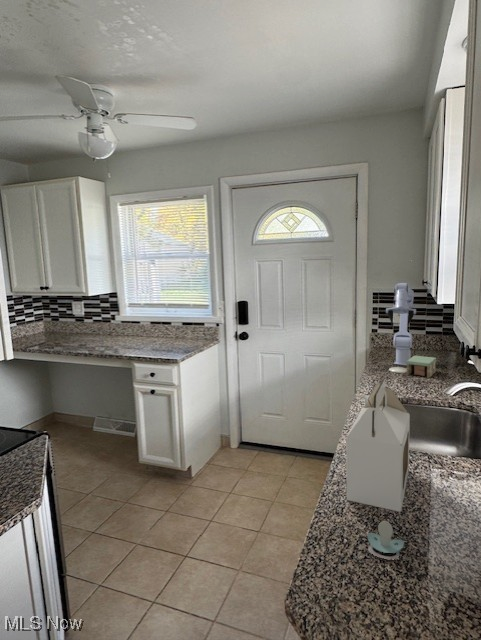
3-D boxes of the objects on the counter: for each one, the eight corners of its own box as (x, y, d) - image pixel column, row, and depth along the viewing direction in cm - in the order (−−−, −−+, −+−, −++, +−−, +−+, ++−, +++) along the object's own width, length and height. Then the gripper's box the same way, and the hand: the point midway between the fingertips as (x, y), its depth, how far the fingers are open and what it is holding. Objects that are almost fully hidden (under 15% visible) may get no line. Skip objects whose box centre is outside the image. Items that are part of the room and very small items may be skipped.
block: (416, 372, 218) (417, 363, 217) (426, 373, 215) (427, 364, 214) (414, 374, 214) (414, 365, 214) (424, 375, 211) (424, 366, 210)
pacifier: (401, 567, 83) (404, 547, 88) (401, 539, 82) (404, 521, 87) (364, 556, 86) (369, 538, 91) (364, 530, 85) (369, 513, 90)
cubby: (414, 369, 224) (414, 358, 223) (435, 371, 217) (436, 360, 217) (406, 374, 214) (406, 363, 213) (429, 377, 207) (429, 366, 206)
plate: (392, 367, 230) (392, 366, 229) (411, 369, 223) (411, 368, 223) (386, 371, 222) (386, 370, 222) (405, 374, 216) (405, 372, 215)
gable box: (362, 462, 125) (362, 373, 121) (408, 470, 119) (410, 377, 115) (346, 500, 106) (345, 396, 102) (400, 513, 100) (402, 402, 96)
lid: (414, 358, 223) (414, 355, 223) (436, 360, 217) (436, 357, 216) (406, 363, 213) (406, 361, 212) (429, 366, 206) (429, 363, 206)
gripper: (386, 297, 215) (384, 320, 209) (416, 298, 209) (415, 321, 203) (386, 305, 220) (385, 327, 214) (416, 306, 215) (415, 328, 209)
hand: (400, 324), depth 209 cm, fingers open, 7 cm apart
